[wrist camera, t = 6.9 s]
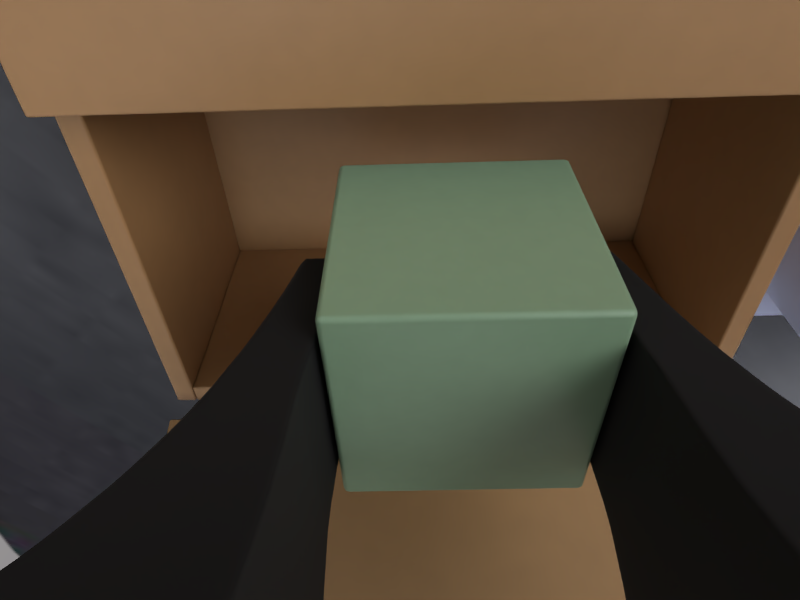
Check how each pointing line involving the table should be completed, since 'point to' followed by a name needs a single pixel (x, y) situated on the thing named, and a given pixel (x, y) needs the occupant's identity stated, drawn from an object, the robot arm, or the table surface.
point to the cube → (468, 326)
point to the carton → (413, 135)
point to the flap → (470, 544)
